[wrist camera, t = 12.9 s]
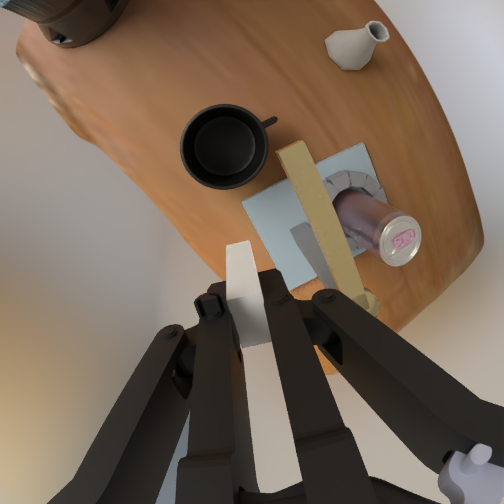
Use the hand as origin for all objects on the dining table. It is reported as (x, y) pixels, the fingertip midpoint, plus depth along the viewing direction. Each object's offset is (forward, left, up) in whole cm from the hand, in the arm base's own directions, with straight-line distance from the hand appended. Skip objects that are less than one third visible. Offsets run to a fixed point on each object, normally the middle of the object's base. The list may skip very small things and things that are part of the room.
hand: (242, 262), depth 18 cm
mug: (-7, +4, -23) cm, 24 cm away
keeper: (+3, +6, -2) cm, 7 cm away
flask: (-13, +26, -23) cm, 37 cm away
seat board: (+9, +11, -23) cm, 27 cm away
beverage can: (+9, +14, -22) cm, 28 cm away
